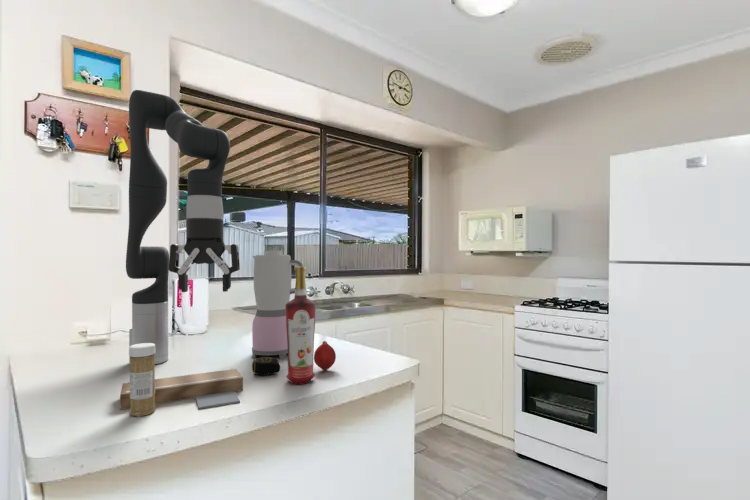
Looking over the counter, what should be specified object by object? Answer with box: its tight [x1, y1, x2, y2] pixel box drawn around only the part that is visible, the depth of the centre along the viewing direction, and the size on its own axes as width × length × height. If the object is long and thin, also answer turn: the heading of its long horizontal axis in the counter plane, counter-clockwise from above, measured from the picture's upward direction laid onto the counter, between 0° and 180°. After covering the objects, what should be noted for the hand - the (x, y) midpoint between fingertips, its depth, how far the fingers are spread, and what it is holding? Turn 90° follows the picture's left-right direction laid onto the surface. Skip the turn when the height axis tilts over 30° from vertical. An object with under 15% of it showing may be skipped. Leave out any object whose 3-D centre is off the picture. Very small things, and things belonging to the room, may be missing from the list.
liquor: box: [285, 266, 317, 385], centre depth 102 cm, size 7×7×28 cm
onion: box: [313, 340, 337, 372], centre depth 111 cm, size 6×6×8 cm
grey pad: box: [195, 391, 241, 410], centre depth 89 cm, size 8×7×1 cm
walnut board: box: [119, 368, 244, 410], centre depth 93 cm, size 24×8×3 cm, turn 118°
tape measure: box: [251, 356, 281, 376], centre depth 109 cm, size 7×7×4 cm
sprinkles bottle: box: [128, 343, 157, 417], centre depth 83 cm, size 5×5×14 cm
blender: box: [251, 250, 304, 359], centre depth 129 cm, size 16×12×32 cm
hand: (205, 291), depth 92 cm, fingers open, 8 cm apart
